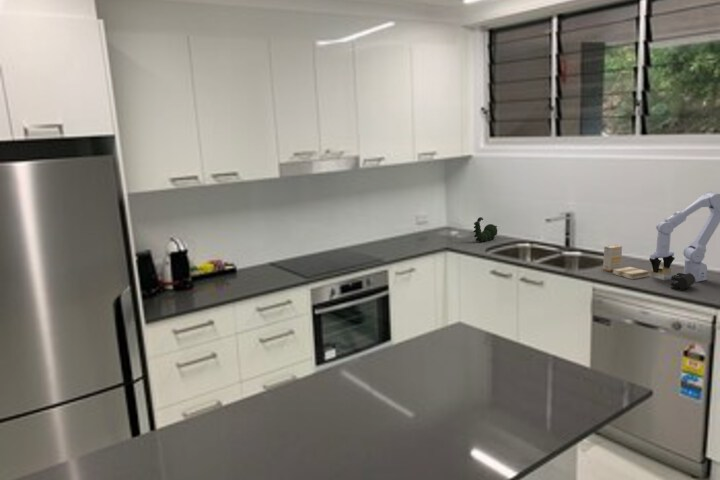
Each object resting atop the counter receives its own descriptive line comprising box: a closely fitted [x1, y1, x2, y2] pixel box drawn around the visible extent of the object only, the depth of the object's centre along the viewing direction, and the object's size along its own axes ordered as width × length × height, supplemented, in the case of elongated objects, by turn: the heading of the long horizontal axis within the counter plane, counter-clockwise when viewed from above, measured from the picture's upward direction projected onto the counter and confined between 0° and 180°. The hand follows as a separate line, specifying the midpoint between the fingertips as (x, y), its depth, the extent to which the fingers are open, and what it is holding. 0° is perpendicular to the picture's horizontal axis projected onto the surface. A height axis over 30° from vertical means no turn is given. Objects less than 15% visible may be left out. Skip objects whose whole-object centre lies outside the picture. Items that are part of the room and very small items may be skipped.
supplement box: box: [602, 244, 623, 272], centre depth 289 cm, size 8×5×13 cm, turn 111°
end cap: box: [670, 272, 696, 291], centre depth 253 cm, size 10×7×7 cm
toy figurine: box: [473, 217, 498, 243], centre depth 375 cm, size 9×19×25 cm
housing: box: [650, 265, 672, 281], centre depth 271 cm, size 8×5×6 cm, turn 23°
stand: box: [612, 266, 650, 280], centre depth 278 cm, size 12×12×2 cm
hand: (660, 271), depth 271 cm, fingers open, 7 cm apart
